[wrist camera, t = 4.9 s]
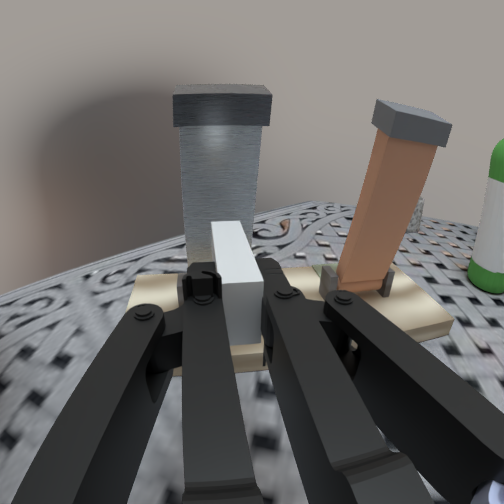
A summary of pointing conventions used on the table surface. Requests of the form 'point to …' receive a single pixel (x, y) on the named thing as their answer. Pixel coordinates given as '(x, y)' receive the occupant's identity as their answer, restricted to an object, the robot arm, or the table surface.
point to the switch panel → (316, 288)
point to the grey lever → (218, 157)
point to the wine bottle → (491, 231)
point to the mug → (416, 217)
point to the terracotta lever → (389, 191)
